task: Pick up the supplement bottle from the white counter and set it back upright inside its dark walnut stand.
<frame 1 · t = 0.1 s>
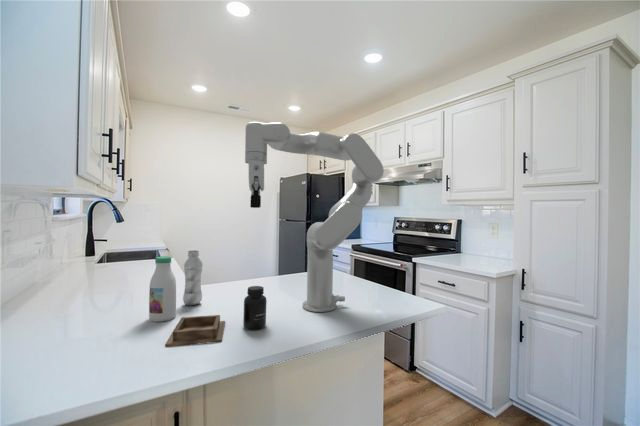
hand: (255, 207, 104), 37 cm above the table, tool pointing down, fingers open, 9 cm apart
milk bottle: (162, 318, 97), on the table
walnut stand: (198, 333, 85), on the table
supplement bottle: (254, 327, 91), on the table
plastic bottle: (192, 305, 111), on the table
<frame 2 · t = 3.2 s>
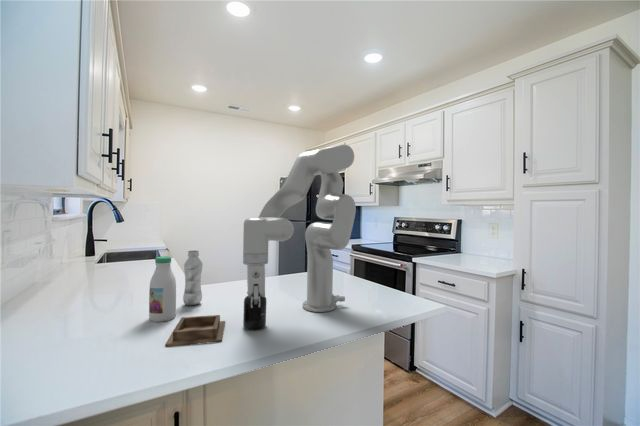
hand: (254, 315, 91), 3 cm above the table, tool pointing down, fingers closed on supplement bottle, 6 cm apart
supplement bottle: (254, 327, 91), on the table, touching gripper
everything else where it was.
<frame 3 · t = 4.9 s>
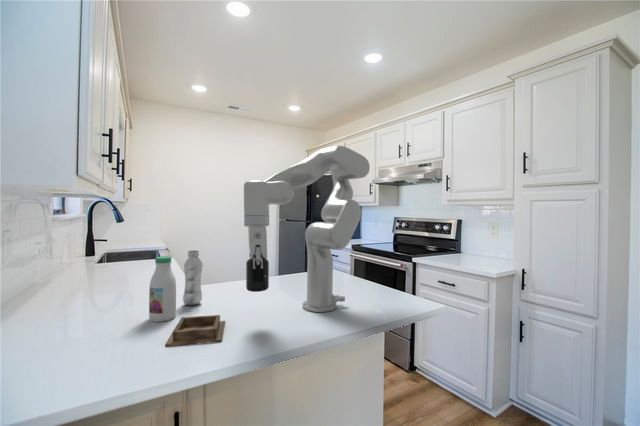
hand: (257, 278, 91), 15 cm above the table, tool pointing down, fingers closed on supplement bottle, 6 cm apart
supplement bottle: (257, 289, 92), point 11 cm above the table, touching gripper
everything else where it was.
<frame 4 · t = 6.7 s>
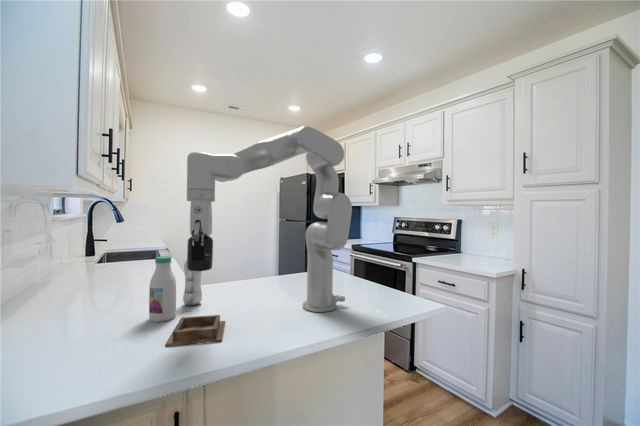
hand: (200, 257, 85), 22 cm above the table, tool pointing down, fingers closed on supplement bottle, 6 cm apart
supplement bottle: (200, 269, 85), point 18 cm above the table, touching gripper
everything else where it was.
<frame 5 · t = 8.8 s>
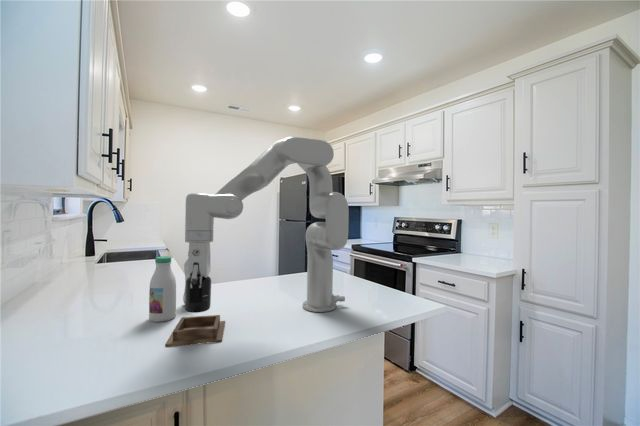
hand: (198, 298, 85), 10 cm above the table, tool pointing down, fingers closed on supplement bottle, 6 cm apart
supplement bottle: (198, 309, 85), point 7 cm above the table, touching gripper
everything else where it was.
when the fingers open (5 cm above the table, at t = 10.4 s): supplement bottle drops 1 cm, resting on walnut stand.
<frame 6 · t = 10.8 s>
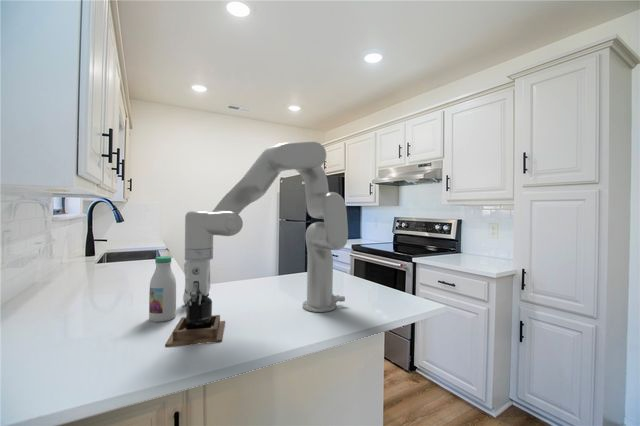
hand: (198, 313, 85), 6 cm above the table, tool pointing down, fingers open, 9 cm apart
supplement bottle: (199, 331, 86), resting on walnut stand
everything else where it was.
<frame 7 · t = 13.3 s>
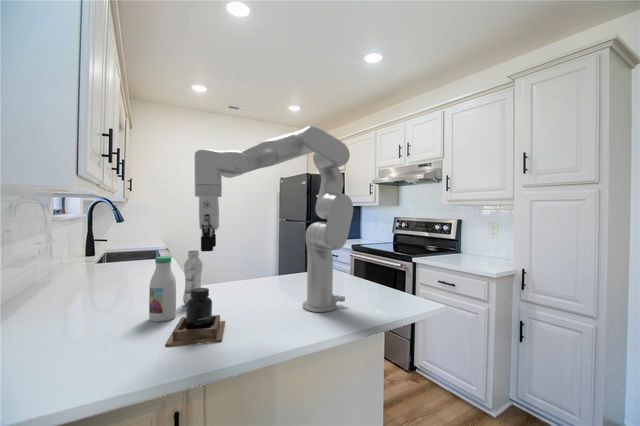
hand: (208, 248, 89), 24 cm above the table, tool pointing down, fingers open, 9 cm apart
nothing on the table moved.
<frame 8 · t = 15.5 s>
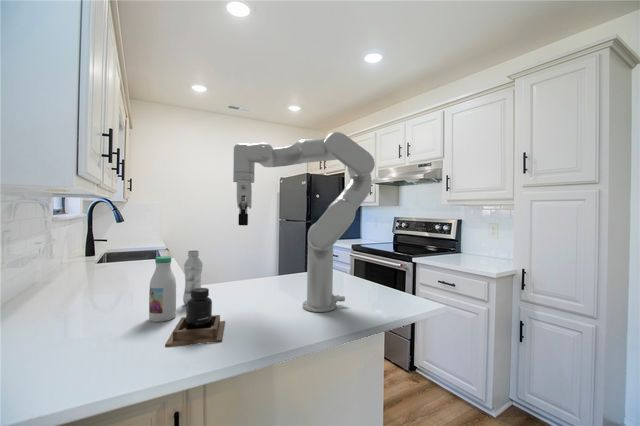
hand: (243, 224, 109), 30 cm above the table, tool pointing down, fingers open, 9 cm apart
nothing on the table moved.
at the end: supplement bottle 0.4 cm off-centre on the walnut stand, point 0.4 cm above the walnut stand's base; supplement bottle tilted 0°; the gripper is holding nothing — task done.
